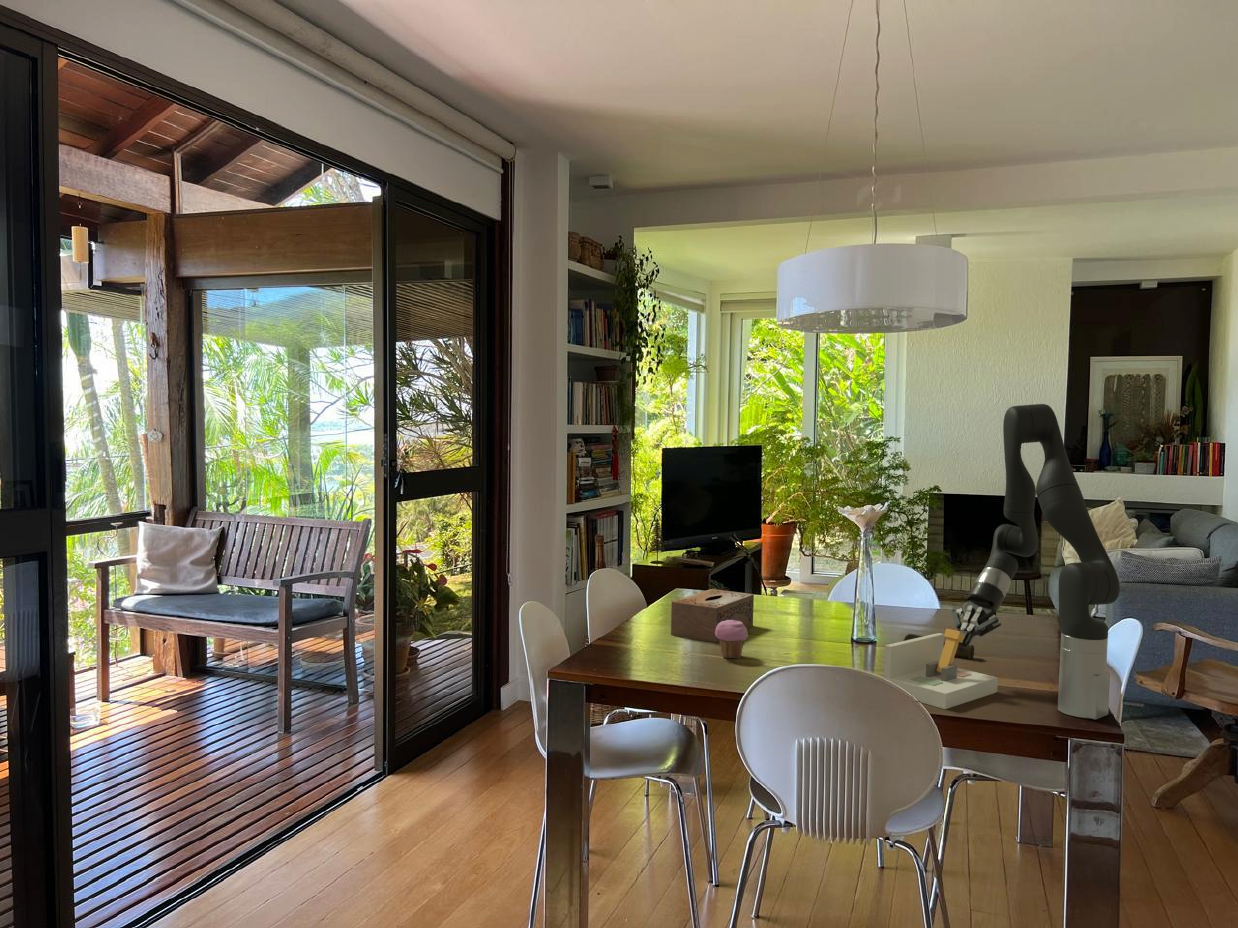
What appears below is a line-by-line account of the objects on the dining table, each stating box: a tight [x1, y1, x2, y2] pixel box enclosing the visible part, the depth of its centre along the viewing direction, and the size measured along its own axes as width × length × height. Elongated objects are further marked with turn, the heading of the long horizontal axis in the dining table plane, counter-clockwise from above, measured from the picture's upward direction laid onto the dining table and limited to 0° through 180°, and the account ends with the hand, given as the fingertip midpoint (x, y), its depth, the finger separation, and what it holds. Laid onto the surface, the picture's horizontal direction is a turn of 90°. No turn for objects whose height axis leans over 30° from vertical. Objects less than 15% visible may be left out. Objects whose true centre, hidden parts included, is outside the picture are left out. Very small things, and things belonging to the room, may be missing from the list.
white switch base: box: [883, 632, 999, 710], centre depth 218 cm, size 22×16×11 cm
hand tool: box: [903, 633, 975, 661], centre depth 254 cm, size 19×4×5 cm, turn 54°
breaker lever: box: [936, 628, 965, 673], centre depth 219 cm, size 2×4×10 cm, turn 39°
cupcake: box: [715, 620, 749, 659], centre depth 246 cm, size 9×9×10 cm
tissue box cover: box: [670, 588, 755, 643], centre depth 277 cm, size 26×14×10 cm, turn 148°
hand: (960, 645), depth 222 cm, fingers closed
